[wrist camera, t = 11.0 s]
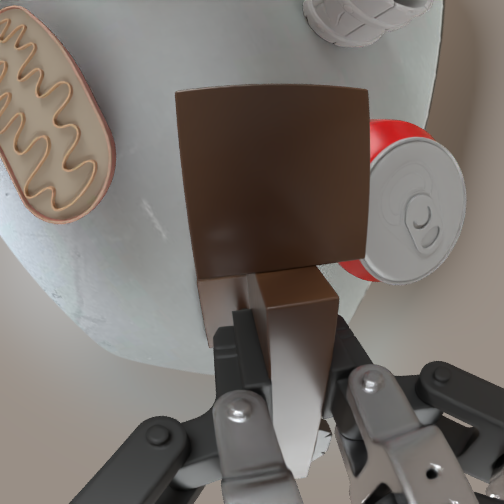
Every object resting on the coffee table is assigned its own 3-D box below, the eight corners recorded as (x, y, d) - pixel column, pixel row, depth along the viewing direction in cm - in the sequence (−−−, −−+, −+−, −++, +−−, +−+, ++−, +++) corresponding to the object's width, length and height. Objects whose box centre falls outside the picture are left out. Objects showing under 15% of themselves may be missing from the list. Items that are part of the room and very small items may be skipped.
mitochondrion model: (-20, 69, 14) (-48, 66, 9) (43, -2, 13) (20, -17, 8) (79, 227, 23) (55, 247, 18) (158, 155, 22) (145, 161, 17)
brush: (357, 100, 8) (440, 90, 4) (319, 452, 16) (335, 497, 13) (151, 108, 7) (105, 90, 4) (228, 468, 16) (235, 516, 12)
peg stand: (282, 266, 27) (326, 351, 16) (282, 332, 31) (315, 421, 20) (196, 276, 27) (193, 371, 16) (208, 342, 30) (214, 437, 19)
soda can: (300, 228, 26) (388, 328, 12) (243, 163, 23) (294, 207, 9) (362, 174, 25) (488, 224, 11) (312, 105, 22) (435, 85, 8)
